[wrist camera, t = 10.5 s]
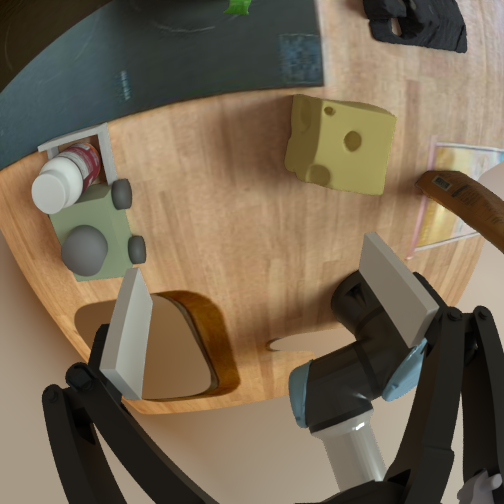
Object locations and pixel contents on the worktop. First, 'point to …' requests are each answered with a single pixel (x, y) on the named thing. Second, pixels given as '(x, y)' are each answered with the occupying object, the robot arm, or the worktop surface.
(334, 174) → the cheese
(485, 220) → the pancake mix bag
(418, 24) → the dark slate chunk
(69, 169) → the pill bottle
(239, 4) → the snack cup
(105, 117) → the worktop surface
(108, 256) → the toy lawn mower
